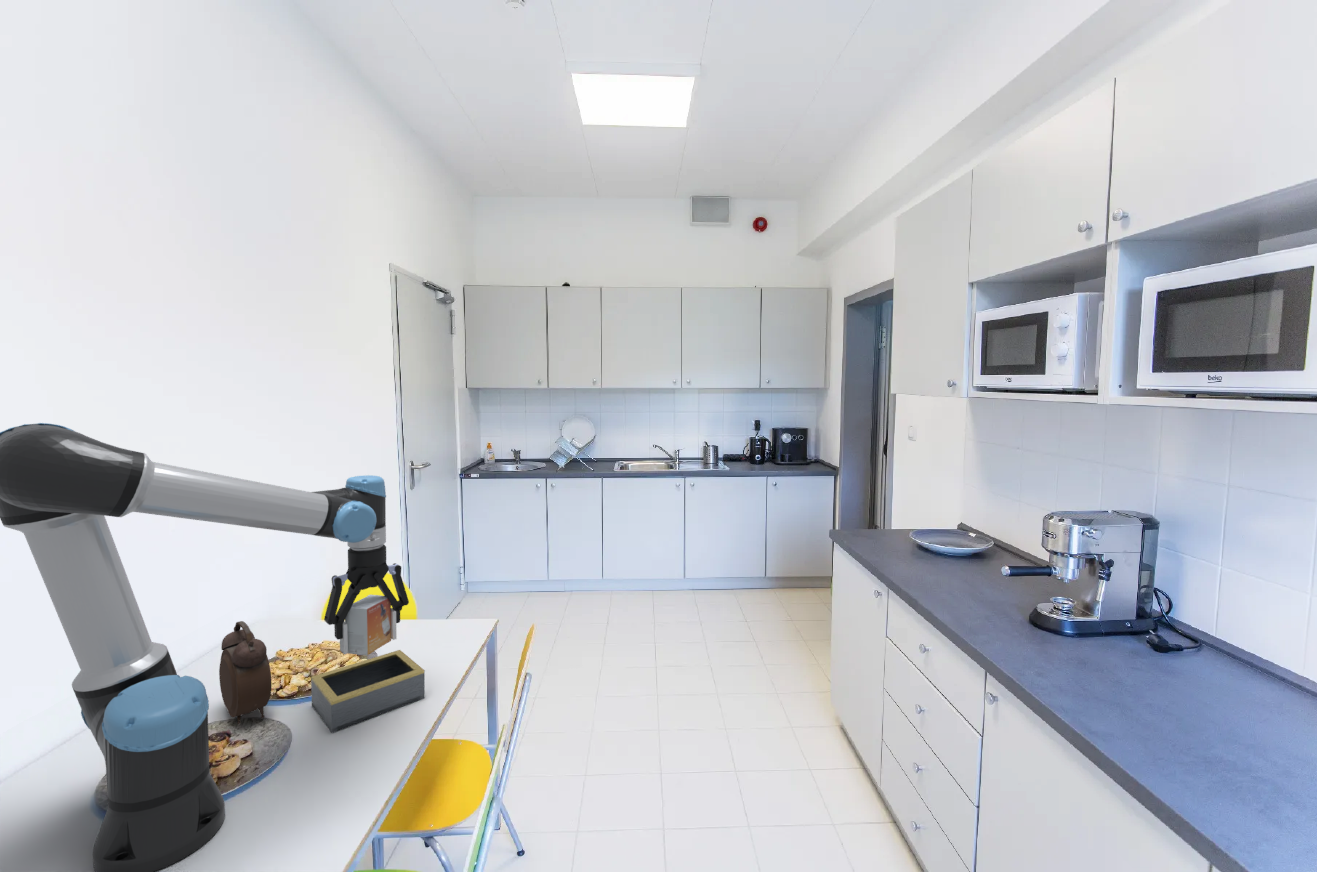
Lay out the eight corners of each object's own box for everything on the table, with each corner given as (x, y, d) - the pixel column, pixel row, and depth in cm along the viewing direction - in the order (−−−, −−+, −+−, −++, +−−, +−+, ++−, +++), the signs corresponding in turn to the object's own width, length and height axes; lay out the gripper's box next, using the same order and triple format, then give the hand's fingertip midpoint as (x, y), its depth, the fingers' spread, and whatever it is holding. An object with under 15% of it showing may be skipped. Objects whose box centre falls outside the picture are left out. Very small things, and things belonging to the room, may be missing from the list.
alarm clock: (278, 719, 116) (276, 627, 115) (236, 735, 111) (233, 638, 109) (257, 694, 126) (255, 609, 124) (217, 707, 120) (214, 618, 119)
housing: (331, 733, 112) (331, 702, 112) (311, 705, 122) (311, 676, 121) (424, 698, 126) (424, 670, 125) (400, 675, 135) (399, 649, 135)
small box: (367, 656, 118) (366, 609, 118) (344, 653, 120) (343, 606, 119) (392, 640, 126) (391, 595, 125) (371, 637, 127) (370, 593, 127)
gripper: (314, 560, 111) (317, 667, 112) (424, 540, 127) (425, 634, 128) (304, 552, 116) (307, 654, 117) (411, 534, 132) (412, 625, 133)
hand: (368, 644), depth 123 cm, fingers closed on small box, 9 cm apart
